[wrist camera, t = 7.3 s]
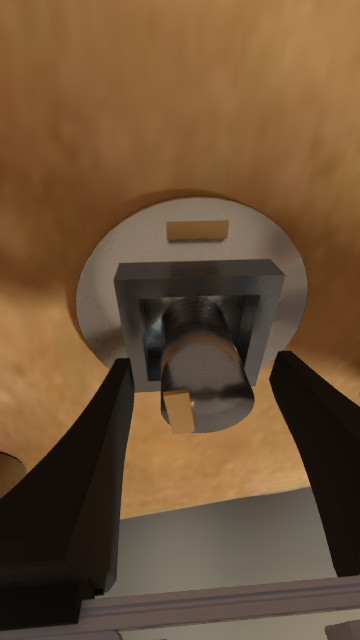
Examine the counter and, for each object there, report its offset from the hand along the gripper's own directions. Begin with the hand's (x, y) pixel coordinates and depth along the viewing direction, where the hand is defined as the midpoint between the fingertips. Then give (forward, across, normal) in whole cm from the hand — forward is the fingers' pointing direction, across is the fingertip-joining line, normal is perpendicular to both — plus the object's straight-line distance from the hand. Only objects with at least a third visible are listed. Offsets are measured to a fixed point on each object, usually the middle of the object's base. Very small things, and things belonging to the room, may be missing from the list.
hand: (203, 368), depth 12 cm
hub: (+4, 0, 0) cm, 5 cm away
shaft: (+4, 0, 0) cm, 4 cm away
